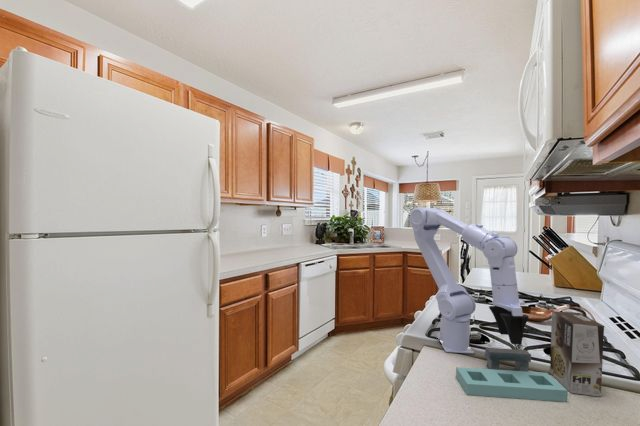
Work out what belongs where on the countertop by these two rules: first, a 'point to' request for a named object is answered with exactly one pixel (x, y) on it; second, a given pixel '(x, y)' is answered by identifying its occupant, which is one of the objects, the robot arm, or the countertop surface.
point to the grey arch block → (508, 358)
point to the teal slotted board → (510, 384)
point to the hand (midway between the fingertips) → (510, 338)
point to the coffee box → (577, 352)
